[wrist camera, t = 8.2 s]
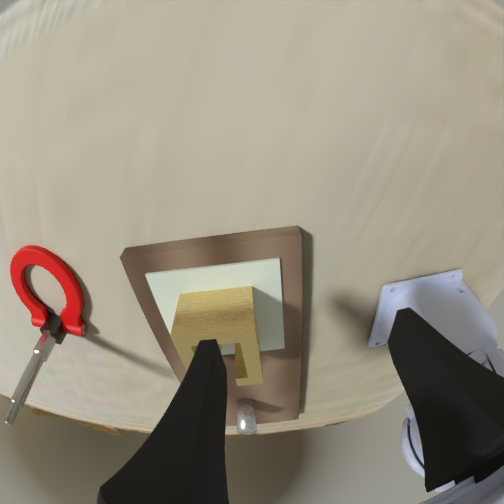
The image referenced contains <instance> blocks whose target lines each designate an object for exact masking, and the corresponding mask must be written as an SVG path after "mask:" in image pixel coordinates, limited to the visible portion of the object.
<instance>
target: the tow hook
mask: <svg viewBox="0 0 504 504" xmlns="http://www.w3.org/2000/svg"><path fill="white" fill-rule="evenodd" d="M30 264H34V265H38V266H41V267H43V268H45V269H46V270H48V271H49V272H50V273H51V274H52V275H54V276H55V278H56V279H57V280H58V281H59V283H60V284H61V286H62V288H63V290H64V292H65V295H66V300H67V304H66V308H64V309H63V310H62V312H61V314H60V316H61V317H60V316H55V315H48V313H47V310H46V308H45V306H44V305H42V304H41V303H40V302H38V301H37V300H36V299H35V298H34V296H33V295H32V294H31V292H30V291H29V289H28V287H27V285H26V282H25V277H24V272H25V268H26V266H27V265H30ZM10 274H11V279H12V283H13V286H14V288H15V290H16V293H17V294H18V296H19V298H20V299H21V301H22V302H23V303H24V305H25V306H26V307H27V308H28V309H29V310H30V312H31V314H32V317H31V322H32V324H33V325H34V326H37V327H41V328H40V331H41V333H42V336H41V337H40V339H39V341H38V342H37V344H36V346H35V348H34V350H33V356H32V358H31V360H30V361H29V363H28V365H27V367H26V369H25V371H24V373H23V375H22V377H21V379H20V381H19V383H18V385H17V387H16V389H15V391H14V394H13V396H12V398H11V402H12V404H11V406H10V409H9V411H8V414H7V416H6V418H5V423H6V424H7V425H9V426H10V427H12V426H13V424H14V421H15V419H16V416H17V414H18V411H19V409H22V408H23V405H24V403H25V401H26V398H27V396H28V394H29V392H30V389H31V387H32V385H33V383H34V381H35V379H36V377H37V374H38V372H39V370H40V368H41V366H42V364H43V362H46V361H47V359H48V357H49V355H50V353H51V351H52V349H53V347H54V346H55V344H56V343H57V344H61V343H62V341H63V340H64V338H65V336H66V334H67V333H68V334H73V335H78V336H83V337H84V336H85V335H86V333H87V324H86V323H85V322H82V321H81V318H80V315H81V313H82V309H83V295H82V292H81V289H80V285H79V283H78V282H77V280H76V278H75V276H74V274H73V273H72V272H71V270H70V269H69V268H68V266H67V265H66V264H65V263H64V262H63V261H62V260H61V259H60V258H59V257H58V256H57V255H55V254H54V253H52V252H50V251H49V250H47V249H45V248H42V247H39V246H26V247H23V248H21V249H20V250H19V251H18V252H17V253H16V254H15V255H14V256H13V258H12V262H11V266H10Z"/></svg>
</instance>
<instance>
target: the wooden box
mask: <svg viewBox="0 0 504 504" xmlns="http://www.w3.org/2000/svg"><path fill="white" fill-rule="evenodd" d="M170 337H171V339H172V341H173V344H174V346H175V348H176V350H177V352H178V354H179V356H180V358H181V360H182V362H183V364H184V366H185V368H186V370H188V367H189V365H190V363H191V361H192V358H193V356H194V353H195V351H196V348H197V345H198V343H199V341H200V340H209V339H217V342H218V345H219V348H220V351H221V354H222V344H230V343H235V379H236V383H237V386H243V385H254V384H264V380H263V369H262V358H261V348H260V339H259V332H258V326H257V319H256V312H255V305H254V299H253V292H252V286H245V287H237V288H228V289H219V290H209V291H200V292H190V293H180V295H179V299H178V303H177V308H176V312H175V317H174V321H173V326H172V330H171V335H170Z"/></svg>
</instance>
